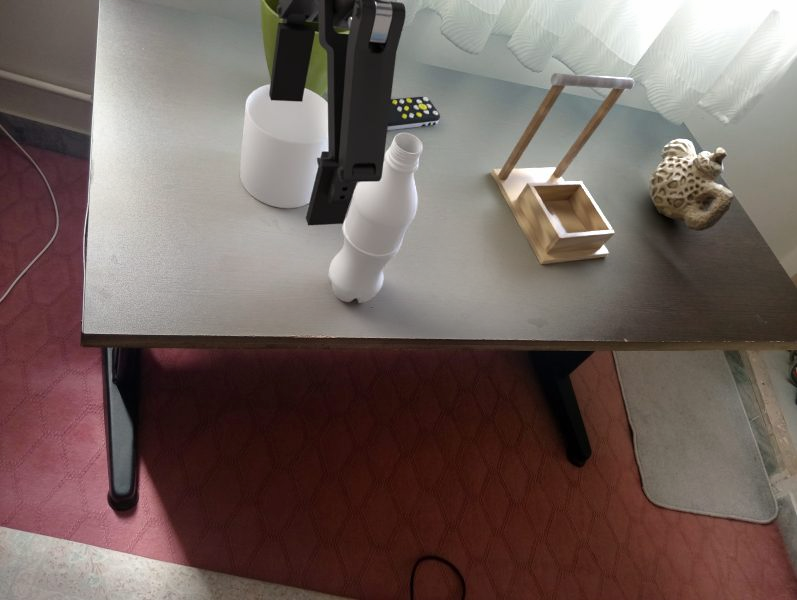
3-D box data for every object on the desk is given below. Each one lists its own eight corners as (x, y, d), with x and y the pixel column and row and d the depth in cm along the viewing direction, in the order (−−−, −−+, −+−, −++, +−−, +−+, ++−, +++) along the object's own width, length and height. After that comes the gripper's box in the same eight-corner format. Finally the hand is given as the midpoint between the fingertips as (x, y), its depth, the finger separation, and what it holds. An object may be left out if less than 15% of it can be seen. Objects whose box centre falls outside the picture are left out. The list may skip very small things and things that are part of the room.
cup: (295, 143, 84) (308, 77, 74) (335, 196, 80) (353, 133, 71) (225, 160, 78) (228, 89, 68) (264, 218, 74) (274, 152, 65)
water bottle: (325, 307, 69) (375, 162, 49) (324, 262, 73) (370, 112, 53) (379, 312, 71) (447, 175, 51) (375, 268, 75) (438, 125, 55)
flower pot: (352, 90, 96) (375, 2, 83) (324, 138, 87) (345, 47, 74) (272, 55, 94) (284, -40, 82) (235, 100, 85) (242, 1, 73)
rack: (608, 256, 91) (700, 163, 75) (538, 264, 85) (621, 165, 68) (555, 171, 100) (626, 71, 84) (488, 173, 94) (551, 65, 77)
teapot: (623, 165, 108) (676, 103, 97) (671, 177, 111) (727, 118, 100) (654, 248, 97) (718, 189, 85) (707, 258, 100) (775, 203, 88)
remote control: (364, 108, 94) (367, 98, 92) (424, 102, 100) (427, 93, 98) (380, 132, 91) (383, 123, 90) (440, 125, 98) (444, 116, 96)
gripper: (247, -285, 30) (229, 52, 47) (374, -38, 19) (291, 289, 36) (370, -244, 33) (312, 59, 50) (541, -11, 22) (393, 278, 39)
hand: (303, 155), depth 43 cm, fingers open, 13 cm apart
